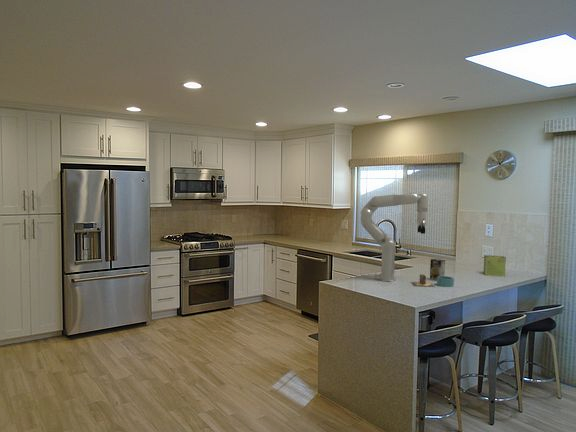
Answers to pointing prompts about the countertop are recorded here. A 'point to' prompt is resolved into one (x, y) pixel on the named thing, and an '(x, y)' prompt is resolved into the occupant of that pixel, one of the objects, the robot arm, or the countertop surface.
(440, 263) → the coffee box
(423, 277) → the lid
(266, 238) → the countertop surface
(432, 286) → the mat
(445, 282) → the bowl
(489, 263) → the protein box
